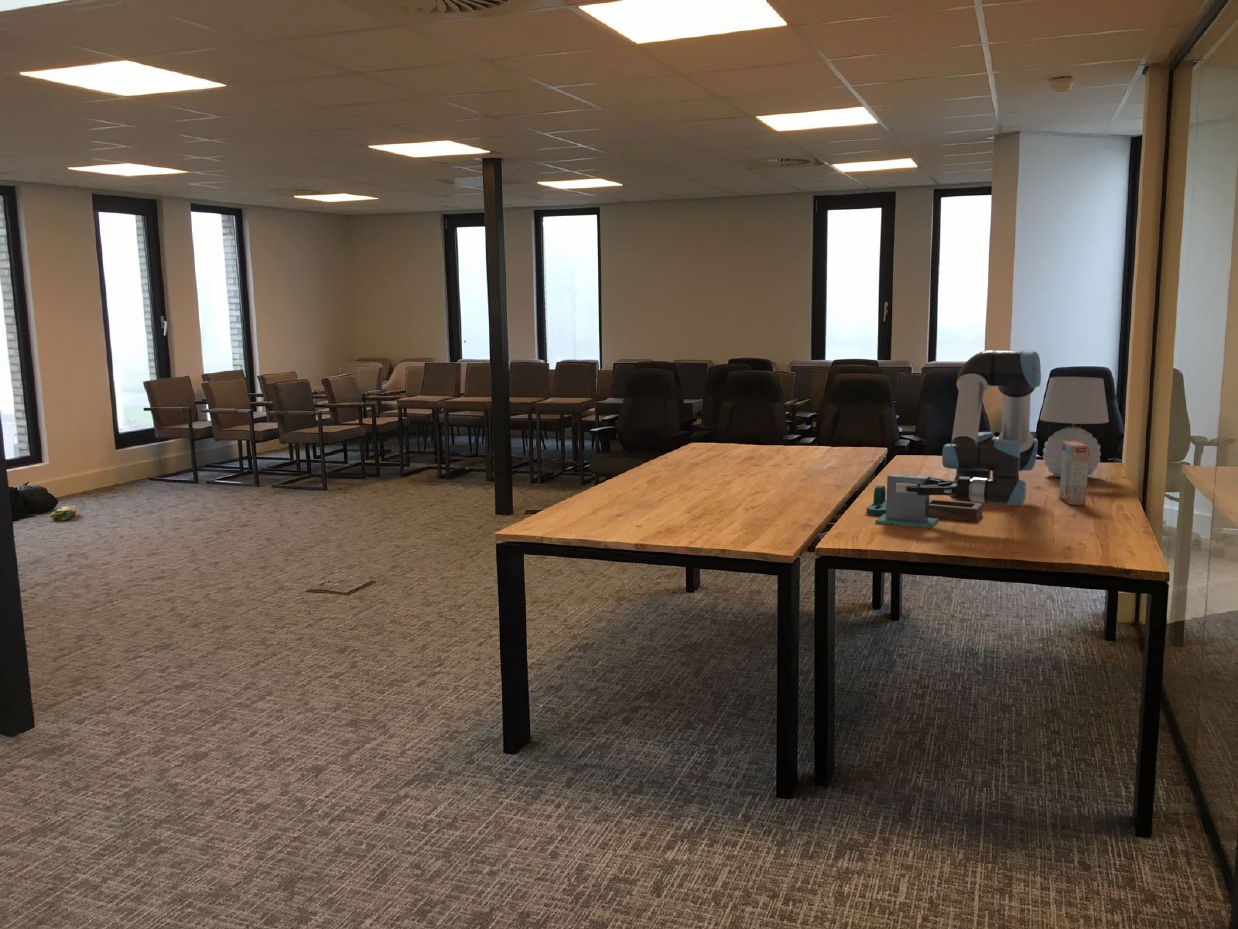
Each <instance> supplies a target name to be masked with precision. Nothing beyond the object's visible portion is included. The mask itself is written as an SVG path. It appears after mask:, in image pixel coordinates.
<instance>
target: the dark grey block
mask: <svg viewBox="0 0 1238 929" xmlns="http://www.w3.org/2000/svg"><path fill="white" fill-rule="evenodd" d="M930 478H931V475H921V474H909V473H894V472H893V473H892V472H891V473H890V474H888V475H887V477H886V499H885V501H886V519H887V520H897V521H908V522H919V523H925V522H926V521H927V520H928V518H929V517H928V516H929V499H930V495H918V494H915V493H903V492H896V483H903V484H916V485H917V483H919V484H920V486H921V485H930Z"/></svg>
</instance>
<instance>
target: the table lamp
mask: <svg viewBox="0 0 1238 929" xmlns="http://www.w3.org/2000/svg"><path fill="white" fill-rule="evenodd" d="M1046 389H1047V390H1046V395H1045V397H1044V401H1043V405H1042V409H1041V413H1040V417H1039V420H1041V421H1042V422H1050V423H1060V424H1071V426H1065V428H1062V429H1061V428H1060V430H1058V431H1055V432H1054V433H1053V434H1052V435H1050V436H1049V437H1048V438H1047V439H1048V440H1047V441H1045V443H1044V448H1043V449H1042V452H1043V455H1042V459H1043V460H1044V466H1045V467H1046V468H1047V469H1048V471H1049V473H1051V474H1052V475H1053V476H1054V477H1056V476H1057V477H1056V478H1058V477H1061V465H1062V450H1063V441H1077V442H1081V443H1083V444H1085V445H1087V446H1090V450H1089V462H1088V475H1087V477H1088V476H1090V475H1092V474H1093V473H1094V470H1096V469H1097V468H1098V464H1099V463H1100V462H1101V458H1100V457H1101V455H1102V453H1101V450H1100V449H1101V445H1100V444H1099V443H1098V439H1097V438H1096V437H1093V434H1092V433H1091V432H1088V431H1087V430H1086V429H1083V428H1082V427H1080V426H1076V424H1077V425H1078V424H1079V425H1080V424H1081V425H1082V424H1083V425H1084V424H1085V425H1091V424H1092V425H1093V424H1094V425H1096V424H1107V423H1110V420H1109V413H1108V406H1107V405H1108V404H1107V398H1106V397H1107V396H1106V389H1105V382H1104V378H1101V377H1089V376H1086V377H1085V376H1052V377H1049V382H1048V385H1047V388H1046Z"/></svg>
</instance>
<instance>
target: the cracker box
mask: <svg viewBox="0 0 1238 929" xmlns="http://www.w3.org/2000/svg"><path fill="white" fill-rule="evenodd" d="M1089 450H1090V446H1087V445H1085V444H1083V443H1081V442H1077V441H1063V450H1062V465H1061V478H1059V479H1060V482H1059V494H1058V498H1059V499H1060V500H1061V501H1063V502H1064V504H1065V503H1066V504H1067V505H1069V506H1086V500H1087V488H1088V486H1087V485H1088V476H1089V475H1088V462H1089ZM1087 475H1088V476H1087Z"/></svg>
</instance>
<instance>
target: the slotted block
mask: <svg viewBox="0 0 1238 929" xmlns="http://www.w3.org/2000/svg"><path fill="white" fill-rule="evenodd" d="M982 516H983V502H982V504H979V502H972V501H958V500H950V499H949V500H948V499H947V500H946V499H937V498H936V499H935V498H929V516H928V518H932V517H939V518H938V519H943V518H945V519H944V520H954V519H955V520H957V521H965V520H968V521H967V522H977V521H979V520H980V519H981V517H982ZM955 520H954V521H955Z"/></svg>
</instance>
